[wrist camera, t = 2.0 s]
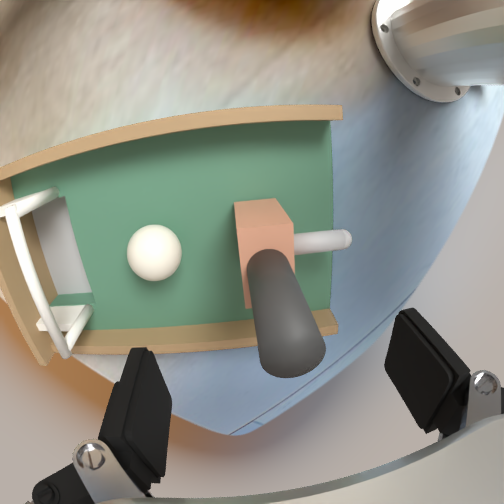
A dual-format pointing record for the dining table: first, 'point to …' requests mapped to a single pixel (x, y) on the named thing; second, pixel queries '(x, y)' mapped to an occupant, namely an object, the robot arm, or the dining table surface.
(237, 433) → the dining table surface
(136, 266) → the ball
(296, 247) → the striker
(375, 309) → the dining table surface
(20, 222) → the pitch
